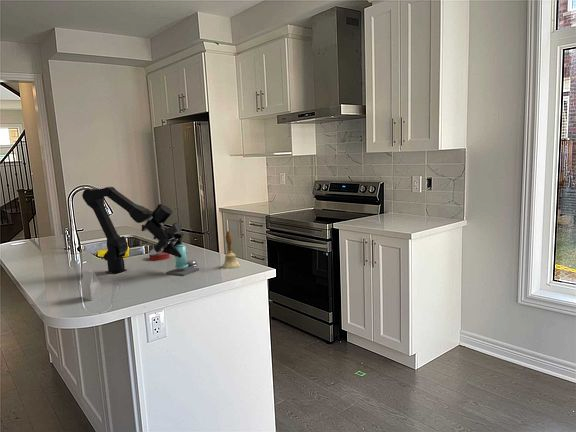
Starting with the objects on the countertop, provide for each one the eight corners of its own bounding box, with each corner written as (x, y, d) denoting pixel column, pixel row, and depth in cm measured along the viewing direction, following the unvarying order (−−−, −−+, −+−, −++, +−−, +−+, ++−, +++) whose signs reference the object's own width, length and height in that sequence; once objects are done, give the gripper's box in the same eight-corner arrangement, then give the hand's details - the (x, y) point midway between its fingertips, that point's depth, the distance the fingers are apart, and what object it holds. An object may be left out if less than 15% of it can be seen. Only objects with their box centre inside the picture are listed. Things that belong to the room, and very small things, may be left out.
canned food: (167, 268, 222) (165, 253, 216) (147, 267, 222) (144, 251, 216) (173, 253, 231) (171, 238, 225) (154, 252, 231) (151, 237, 225)
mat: (183, 275, 187) (183, 273, 187) (166, 273, 192) (165, 272, 192) (199, 269, 196) (199, 268, 196) (181, 268, 200) (181, 266, 200)
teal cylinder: (179, 269, 189) (177, 246, 188) (172, 267, 194) (170, 245, 192) (190, 266, 193) (188, 244, 192) (184, 264, 197) (182, 243, 196)
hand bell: (237, 268, 195) (234, 232, 193) (219, 268, 196) (216, 233, 194) (242, 263, 203) (240, 229, 201) (225, 263, 204) (222, 229, 202)
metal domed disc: (191, 268, 200) (191, 263, 200) (180, 267, 203) (180, 262, 203) (200, 264, 206) (200, 260, 205) (190, 263, 209) (189, 259, 208)
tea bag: (91, 300, 159) (88, 273, 158) (82, 297, 163) (79, 271, 162) (101, 297, 162) (98, 271, 161) (92, 295, 166) (89, 268, 165)
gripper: (158, 220, 182) (185, 246, 181) (178, 214, 200) (203, 238, 199) (142, 239, 185) (169, 265, 184) (164, 231, 203) (188, 255, 202)
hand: (183, 255), depth 192 cm, fingers closed on teal cylinder, 5 cm apart
